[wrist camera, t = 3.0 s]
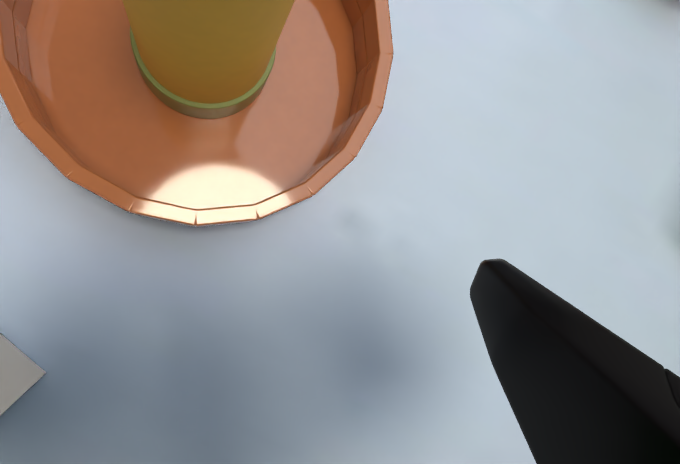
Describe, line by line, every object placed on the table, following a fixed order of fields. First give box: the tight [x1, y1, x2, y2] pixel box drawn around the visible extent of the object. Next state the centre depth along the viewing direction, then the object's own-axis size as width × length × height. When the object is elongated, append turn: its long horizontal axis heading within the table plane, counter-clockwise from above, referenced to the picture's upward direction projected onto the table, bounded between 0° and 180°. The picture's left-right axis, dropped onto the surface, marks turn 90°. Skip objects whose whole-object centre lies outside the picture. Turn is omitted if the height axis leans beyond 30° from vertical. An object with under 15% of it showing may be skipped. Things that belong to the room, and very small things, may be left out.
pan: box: [0, 0, 393, 227], centre depth 20 cm, size 14×14×3 cm
